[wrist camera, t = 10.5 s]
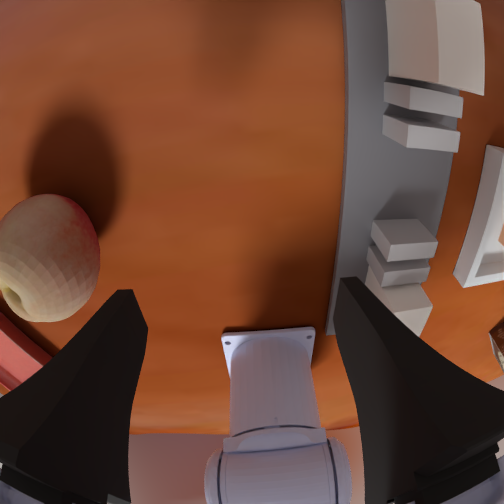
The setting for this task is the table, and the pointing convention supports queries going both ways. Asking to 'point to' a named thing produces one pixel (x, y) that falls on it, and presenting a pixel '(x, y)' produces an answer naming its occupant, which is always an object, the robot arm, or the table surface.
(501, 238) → the block
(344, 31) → the rail
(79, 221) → the fruit
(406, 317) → the block
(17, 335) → the plant saucer
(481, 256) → the tray
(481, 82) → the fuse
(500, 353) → the food container
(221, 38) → the table surface
